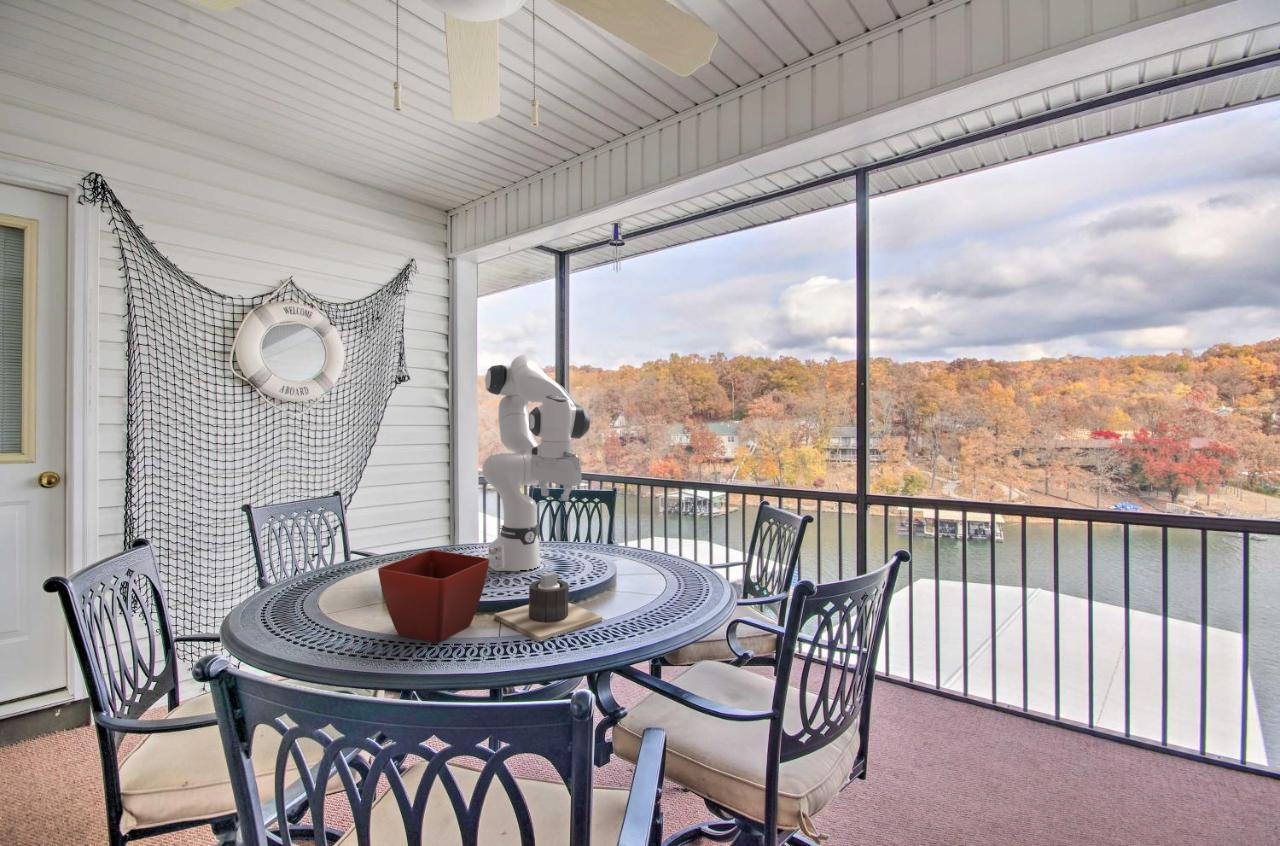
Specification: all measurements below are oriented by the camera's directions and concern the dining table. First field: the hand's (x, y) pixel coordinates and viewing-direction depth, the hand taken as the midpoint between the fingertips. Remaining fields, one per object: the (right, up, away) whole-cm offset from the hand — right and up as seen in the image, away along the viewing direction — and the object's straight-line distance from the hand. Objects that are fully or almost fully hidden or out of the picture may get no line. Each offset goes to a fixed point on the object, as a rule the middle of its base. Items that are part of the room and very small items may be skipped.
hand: (554, 498), depth 171 cm
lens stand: (+1, -30, -17) cm, 34 cm away
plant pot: (-26, -30, -26) cm, 47 cm away
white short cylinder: (+1, -23, -17) cm, 29 cm away
